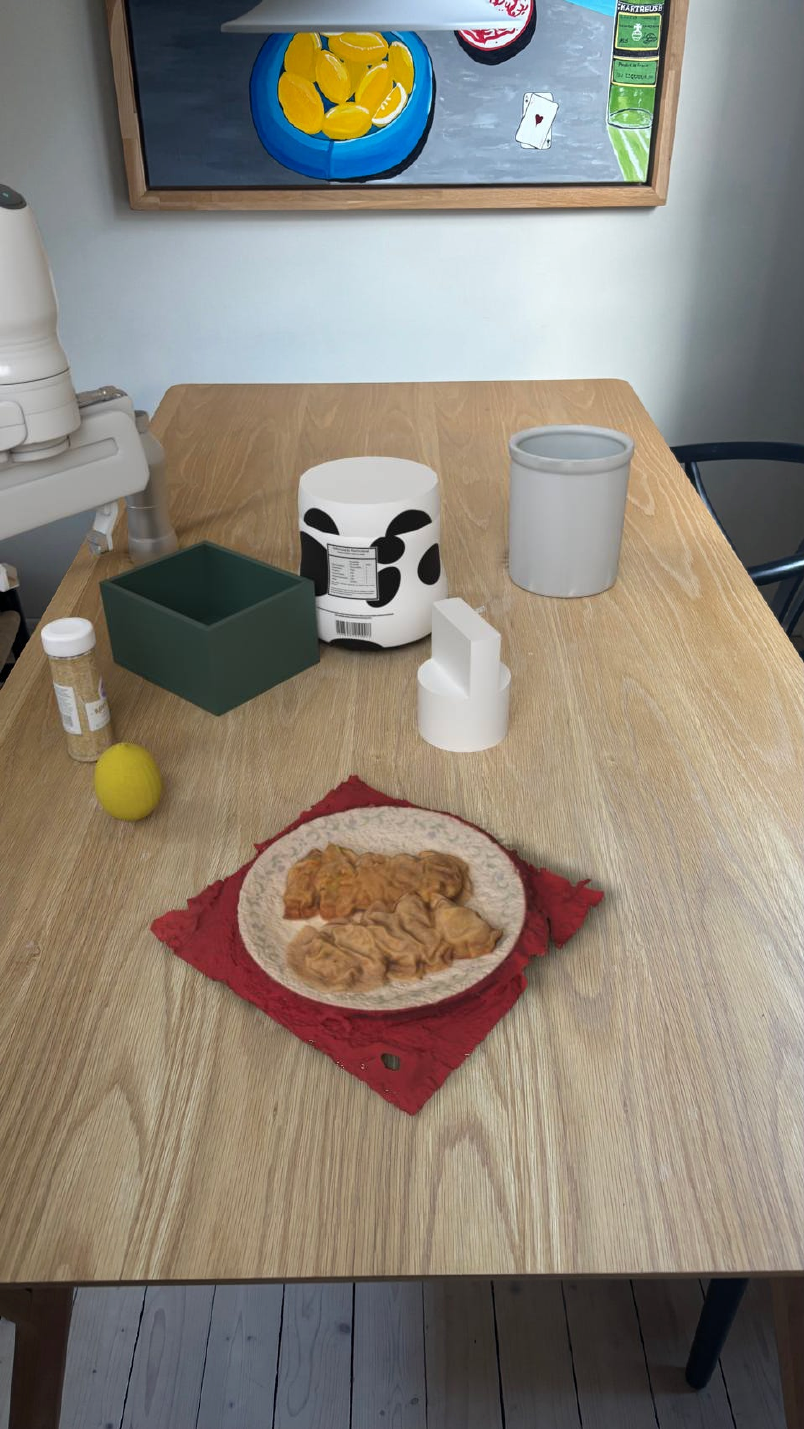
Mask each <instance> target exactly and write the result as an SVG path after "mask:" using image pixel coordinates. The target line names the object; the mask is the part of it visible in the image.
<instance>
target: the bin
mask: <svg viewBox="0 0 804 1429" xmlns="http://www.w3.org/2000/svg"><path fill="white" fill-rule="evenodd" d="M98 586H99V591H100V597H101V602H102V606H103V612H104V617H105V622H106V628H107V633H108V639H109V643H110V650H111V654H112V660H113V663H114V664H116V665H117V666H120V667H122V668H123V669H126V670H127V671H129V672H131V673H133V674H135V675H137V676H139V677H141V678H143V679H145V680H147V681H148V682H150V683H153V684H154V685H156V686H158V687H161V688H162V689H164V690H166V691H168V692H170V693H172V694H174V695H176V696H178V697H179V698H181V699H183V700H185V701H187V702H189V703H191V704H193V705H194V706H197V707H198V708H201V709H202V710H205V711H206V712H208V713H209V714H212V715H214V716H215V717H218V718H219V717H221V716H222V715H225V714H226V713H228V712H230V711H232V710H233V709H236V708H237V707H239V706H241V705H243V704H245V703H247V702H248V701H250V700H252V699H254V698H256V697H258V696H259V695H261V694H263V693H265V692H267V691H269V690H271V689H273V688H274V687H276V686H278V685H280V684H281V683H283V682H285V681H287V680H289V679H291V678H293V677H295V676H296V675H298V674H300V673H302V672H304V671H305V670H307V669H309V668H311V667H313V666H315V665H317V664H318V663H320V652H319V639H318V634H317V618H316V603H315V588H314V581H312V580H310V579H307V578H305V577H302V576H299V575H298V573H297V574H296V573H294V572H291V571H289V570H286V569H283V568H281V567H278V566H275V565H272V564H269V563H268V562H265V561H263V560H260V559H257V558H254V557H251V556H250V555H249V556H248V555H247V554H244V553H241V552H238V551H235V550H233V549H230V548H228V547H225V546H223V545H220V544H217V543H214V542H212V541H209V540H207V539H204V540H201V541H199V542H196V543H194V544H191V545H188V546H186V547H184V548H181V549H179V551H176V552H173V553H171V554H168V555H166V556H163V557H161V558H158V559H156V560H153V561H151V562H148V563H146V564H143V565H141V566H138V567H137V566H135V567H133V568H131V569H128V570H126V571H122V572H121V573H118V574H116V575H113V576H109V577H108V578H106V579H103V580H100V581H98Z"/></svg>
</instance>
